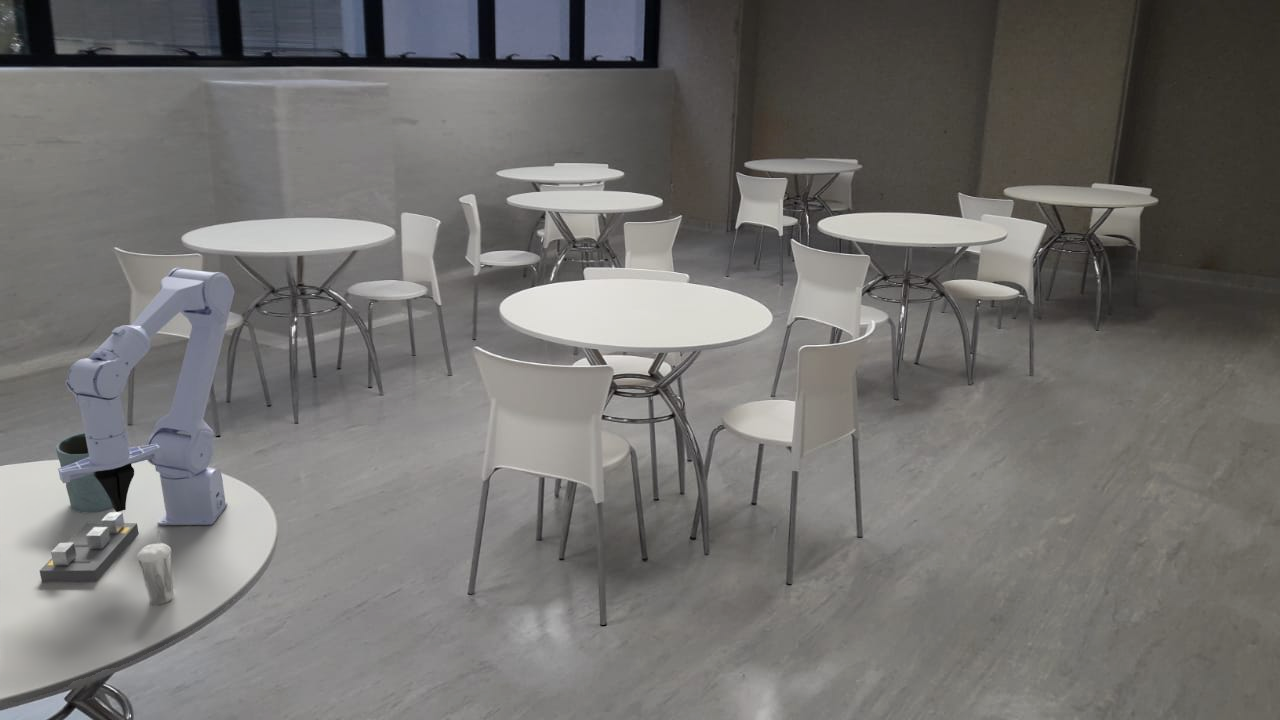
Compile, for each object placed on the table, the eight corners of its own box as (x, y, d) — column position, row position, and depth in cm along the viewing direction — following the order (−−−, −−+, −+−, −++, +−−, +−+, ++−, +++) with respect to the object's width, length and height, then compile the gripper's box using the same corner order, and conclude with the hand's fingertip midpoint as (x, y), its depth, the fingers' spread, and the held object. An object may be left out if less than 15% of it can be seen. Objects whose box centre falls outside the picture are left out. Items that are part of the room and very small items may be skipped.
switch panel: (138, 533, 170) (136, 522, 170) (97, 581, 156) (94, 570, 156) (88, 533, 170) (86, 522, 169) (41, 581, 156) (39, 570, 155)
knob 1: (76, 555, 159) (73, 542, 158) (67, 565, 156) (65, 551, 156) (62, 555, 159) (59, 542, 158) (53, 565, 156) (50, 551, 155)
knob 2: (110, 539, 164) (107, 526, 163) (102, 548, 161) (99, 535, 160) (96, 539, 164) (94, 527, 163) (88, 548, 161) (85, 535, 160)
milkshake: (183, 586, 155) (173, 530, 152) (174, 605, 150) (164, 548, 147) (152, 588, 155) (142, 532, 151) (141, 608, 150) (131, 550, 146)
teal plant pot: (87, 488, 186) (76, 429, 182) (140, 490, 185) (130, 431, 181) (55, 514, 176) (42, 452, 172) (111, 516, 176) (100, 454, 172)
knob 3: (124, 524, 169) (122, 512, 168) (117, 533, 166) (114, 520, 165) (111, 524, 168) (109, 512, 168) (103, 533, 166) (101, 520, 165)
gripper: (146, 413, 164) (158, 486, 169) (47, 436, 155) (63, 513, 159) (160, 426, 159) (172, 501, 164) (59, 450, 150) (75, 530, 154)
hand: (119, 508), depth 161 cm, fingers closed
